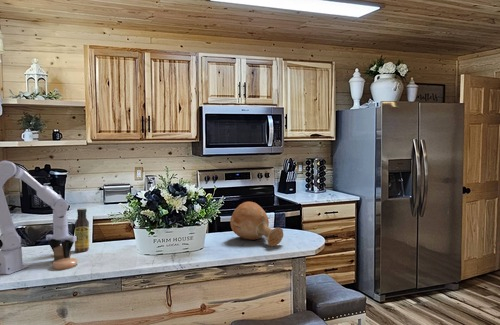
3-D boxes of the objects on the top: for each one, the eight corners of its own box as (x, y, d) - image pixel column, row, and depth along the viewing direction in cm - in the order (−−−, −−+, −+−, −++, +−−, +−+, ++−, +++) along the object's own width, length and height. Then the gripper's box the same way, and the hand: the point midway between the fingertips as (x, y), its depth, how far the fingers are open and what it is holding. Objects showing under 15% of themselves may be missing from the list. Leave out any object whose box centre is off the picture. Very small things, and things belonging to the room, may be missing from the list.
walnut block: (62, 262, 169) (62, 248, 168) (54, 261, 170) (53, 247, 170) (70, 259, 173) (69, 245, 172) (61, 258, 174) (61, 245, 174)
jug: (258, 209, 218) (298, 224, 195) (240, 240, 213) (279, 258, 190) (236, 191, 206) (276, 205, 183) (217, 223, 201) (256, 241, 178)
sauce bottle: (74, 253, 182) (72, 210, 181) (74, 249, 188) (73, 208, 187) (90, 251, 185) (88, 209, 183) (89, 248, 190) (88, 207, 189)
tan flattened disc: (66, 270, 158) (65, 265, 158) (48, 268, 161) (47, 263, 160) (81, 263, 167) (81, 258, 166) (64, 261, 169) (64, 257, 169)
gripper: (81, 224, 172) (82, 255, 173) (54, 223, 176) (55, 253, 177) (69, 228, 165) (70, 260, 166) (41, 226, 170) (43, 257, 170)
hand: (62, 256), depth 171 cm, fingers closed on walnut block, 4 cm apart
